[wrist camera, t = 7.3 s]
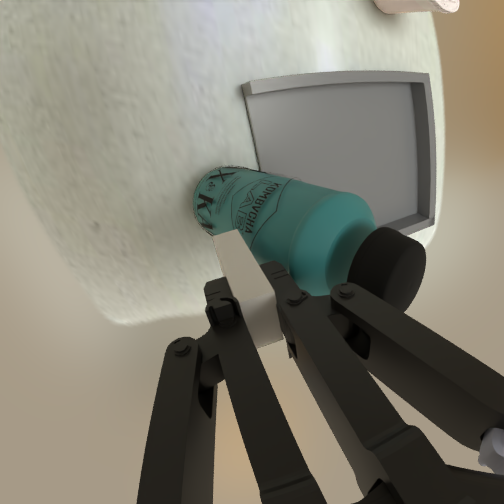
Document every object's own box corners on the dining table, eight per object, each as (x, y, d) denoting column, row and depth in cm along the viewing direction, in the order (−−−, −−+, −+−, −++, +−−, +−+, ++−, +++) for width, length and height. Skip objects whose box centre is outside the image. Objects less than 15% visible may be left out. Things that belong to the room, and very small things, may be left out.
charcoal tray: (241, 84, 24) (249, 81, 21) (411, 73, 27) (428, 73, 24) (279, 266, 34) (288, 279, 31) (419, 216, 37) (434, 224, 34)
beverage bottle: (254, 173, 28) (453, 226, 13) (235, 236, 30) (409, 341, 14) (195, 155, 25) (405, 188, 9) (175, 226, 26) (340, 360, 10)
